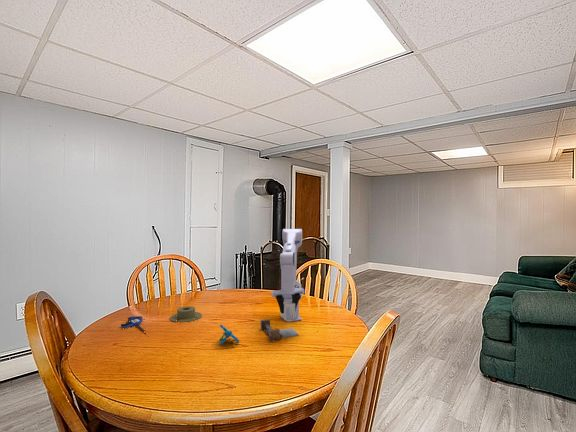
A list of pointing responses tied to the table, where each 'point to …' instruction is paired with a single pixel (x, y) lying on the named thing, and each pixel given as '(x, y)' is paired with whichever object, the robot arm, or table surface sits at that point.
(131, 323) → the bar clamp
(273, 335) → the rail
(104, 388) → the table surface
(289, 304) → the bracket
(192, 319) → the flange
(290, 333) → the mat
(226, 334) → the blue lobed piece
